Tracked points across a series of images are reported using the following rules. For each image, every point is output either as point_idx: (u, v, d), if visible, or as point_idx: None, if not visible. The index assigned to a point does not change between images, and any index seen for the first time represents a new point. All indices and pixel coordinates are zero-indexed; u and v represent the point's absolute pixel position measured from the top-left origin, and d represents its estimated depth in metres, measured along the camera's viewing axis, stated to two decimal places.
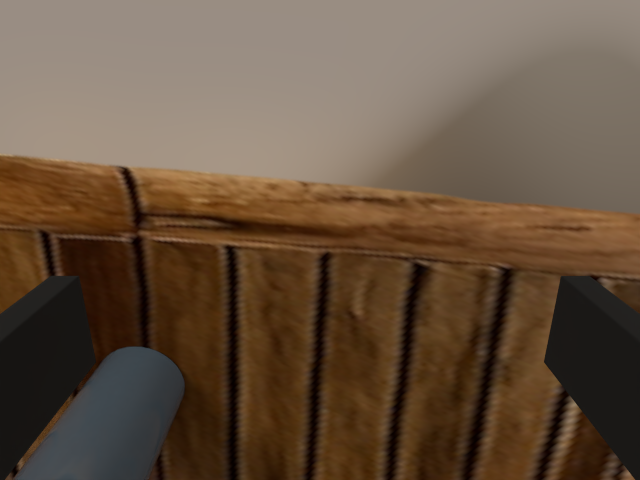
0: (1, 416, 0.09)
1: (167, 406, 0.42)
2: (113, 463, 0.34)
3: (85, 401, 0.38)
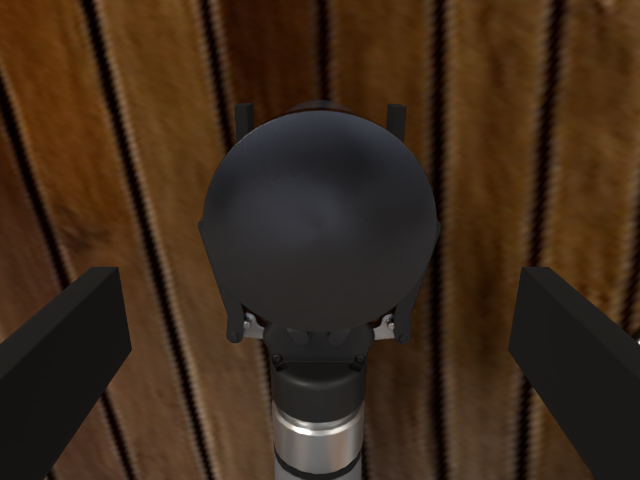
0: (57, 396, 0.10)
1: None
2: None
3: None
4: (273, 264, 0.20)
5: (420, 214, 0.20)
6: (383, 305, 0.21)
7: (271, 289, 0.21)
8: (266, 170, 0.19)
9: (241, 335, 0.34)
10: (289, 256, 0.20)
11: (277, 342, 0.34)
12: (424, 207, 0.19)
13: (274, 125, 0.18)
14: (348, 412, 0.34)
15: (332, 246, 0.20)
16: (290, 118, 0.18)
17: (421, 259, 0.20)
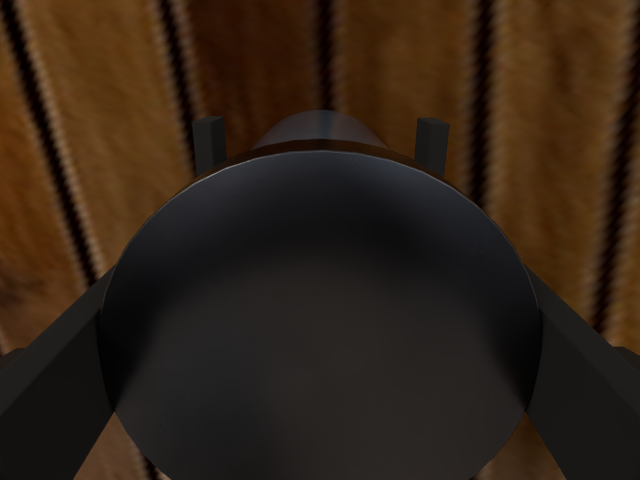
0: (93, 384, 0.10)
1: None
2: None
3: (278, 132, 0.19)
4: (234, 424, 0.11)
5: (511, 342, 0.10)
6: None
7: (232, 463, 0.11)
8: (214, 264, 0.10)
9: None
10: (263, 412, 0.11)
11: None
12: (519, 330, 0.10)
13: (227, 179, 0.09)
14: None
15: (343, 395, 0.11)
16: (259, 165, 0.09)
17: (507, 417, 0.11)
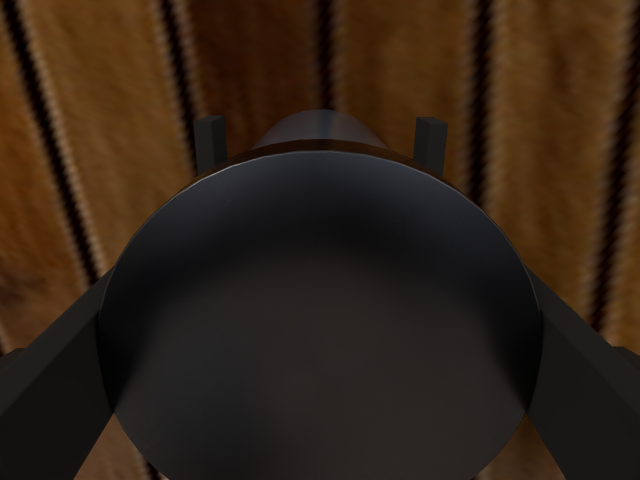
0: (93, 384, 0.10)
1: None
2: None
3: (278, 132, 0.19)
4: (356, 453, 0.11)
5: (345, 186, 0.09)
6: (518, 303, 0.10)
7: (401, 468, 0.11)
8: (187, 419, 0.11)
9: None
10: (350, 428, 0.11)
11: None
12: (332, 175, 0.09)
13: (113, 388, 0.11)
14: None
15: (356, 359, 0.10)
16: (106, 362, 0.10)
17: (447, 206, 0.09)
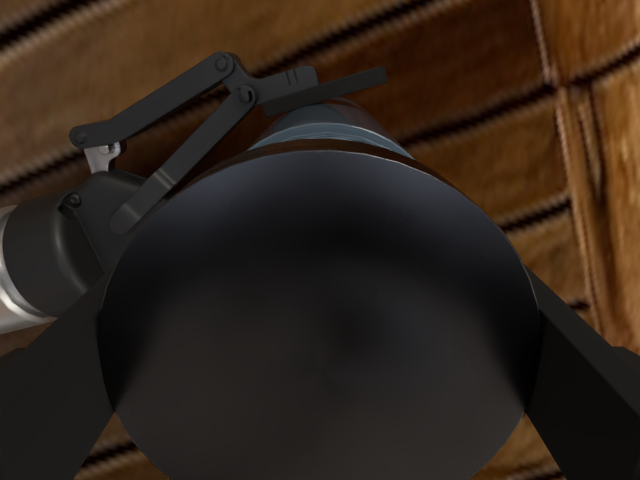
0: (93, 385, 0.10)
1: None
2: None
3: None
4: (356, 452, 0.11)
5: (345, 185, 0.09)
6: (518, 301, 0.10)
7: (400, 467, 0.12)
8: (187, 417, 0.11)
9: (86, 146, 0.25)
10: (350, 426, 0.11)
11: (97, 195, 0.26)
12: (332, 174, 0.09)
13: (114, 387, 0.11)
14: (47, 312, 0.26)
15: (356, 358, 0.10)
16: (107, 360, 0.10)
17: (447, 205, 0.09)
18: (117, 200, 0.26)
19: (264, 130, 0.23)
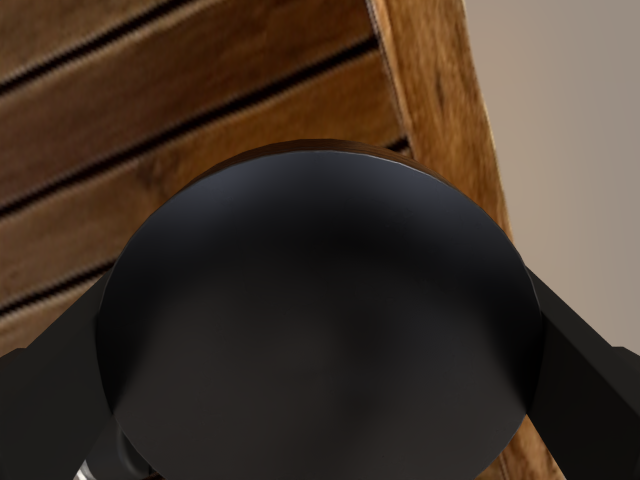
0: (93, 384, 0.10)
1: None
2: None
3: None
4: (356, 455, 0.11)
5: (345, 186, 0.09)
6: (520, 303, 0.10)
7: (401, 470, 0.11)
8: (186, 420, 0.11)
9: None
10: (350, 429, 0.11)
11: None
12: (332, 175, 0.09)
13: (112, 389, 0.11)
14: None
15: (357, 360, 0.10)
16: (105, 363, 0.10)
17: (448, 206, 0.09)
18: None
19: None
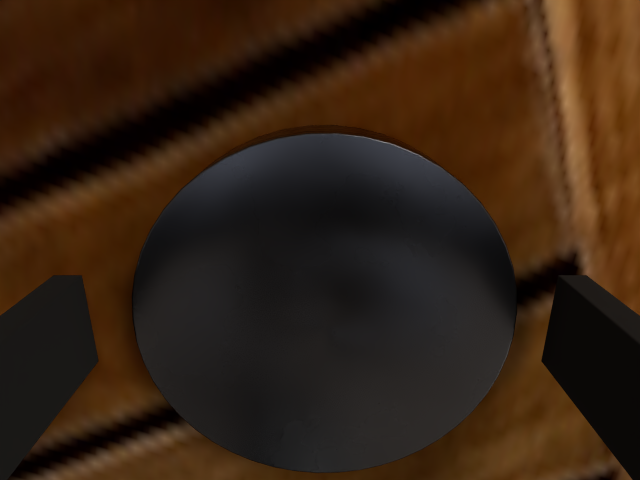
0: (5, 415, 0.09)
1: None
2: None
3: None
4: (356, 402, 0.13)
5: (347, 164, 0.11)
6: (496, 266, 0.11)
7: (394, 415, 0.13)
8: (208, 370, 0.13)
9: None
10: (351, 378, 0.13)
11: None
12: (336, 154, 0.11)
13: (145, 342, 0.12)
14: None
15: (356, 316, 0.12)
16: (139, 318, 0.12)
17: (434, 181, 0.11)
18: None
19: None
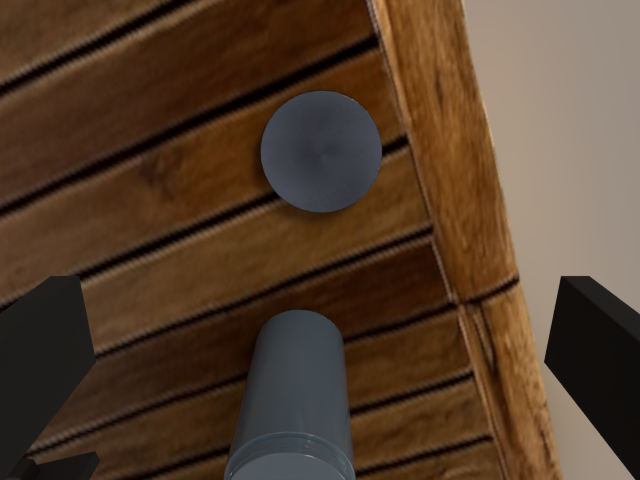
0: (1, 416, 0.09)
1: None
2: None
3: (337, 374, 0.38)
4: (331, 183, 0.39)
5: (327, 100, 0.36)
6: (373, 132, 0.37)
7: (345, 188, 0.39)
8: (283, 170, 0.38)
9: None
10: (330, 173, 0.39)
11: None
12: (324, 97, 0.36)
13: (263, 159, 0.38)
14: None
15: (331, 150, 0.38)
16: (262, 151, 0.38)
17: (353, 105, 0.37)
18: None
19: (256, 376, 0.37)
